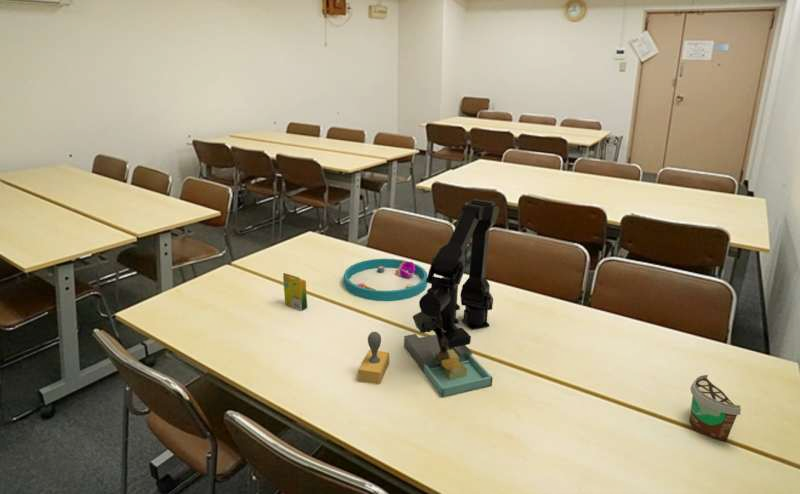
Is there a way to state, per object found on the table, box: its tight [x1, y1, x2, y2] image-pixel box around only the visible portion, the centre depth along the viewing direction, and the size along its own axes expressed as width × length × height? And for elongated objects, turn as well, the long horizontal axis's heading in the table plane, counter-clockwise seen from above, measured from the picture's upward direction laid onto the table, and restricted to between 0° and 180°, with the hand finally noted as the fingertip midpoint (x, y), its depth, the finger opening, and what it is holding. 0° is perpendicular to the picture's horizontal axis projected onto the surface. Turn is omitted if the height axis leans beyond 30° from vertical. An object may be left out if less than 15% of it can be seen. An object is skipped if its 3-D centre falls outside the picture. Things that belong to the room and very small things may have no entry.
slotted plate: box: [403, 333, 473, 374], centre depth 146 cm, size 14×14×4 cm
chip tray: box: [423, 355, 493, 399], centre depth 135 cm, size 14×11×2 cm
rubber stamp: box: [357, 331, 390, 385], centre depth 136 cm, size 10×6×12 cm, turn 167°
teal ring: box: [343, 258, 428, 302], centre depth 190 cm, size 30×30×6 cm
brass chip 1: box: [435, 349, 459, 367], centre depth 140 cm, size 5×4×2 cm
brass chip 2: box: [443, 362, 467, 380], centre depth 137 cm, size 5×4×2 cm
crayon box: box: [282, 272, 308, 312], centre depth 170 cm, size 7×3×12 cm, turn 58°
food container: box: [688, 374, 742, 441], centre depth 119 cm, size 12×6×10 cm, turn 5°
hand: (443, 352), depth 142 cm, fingers closed
